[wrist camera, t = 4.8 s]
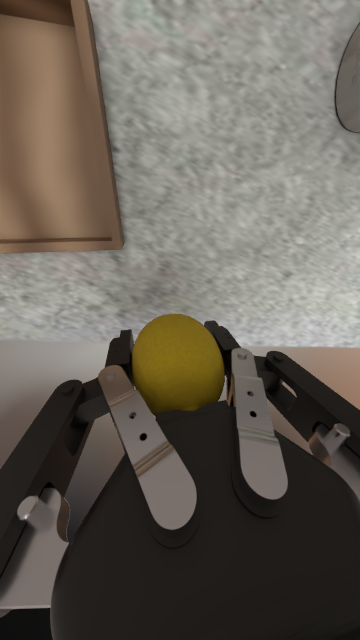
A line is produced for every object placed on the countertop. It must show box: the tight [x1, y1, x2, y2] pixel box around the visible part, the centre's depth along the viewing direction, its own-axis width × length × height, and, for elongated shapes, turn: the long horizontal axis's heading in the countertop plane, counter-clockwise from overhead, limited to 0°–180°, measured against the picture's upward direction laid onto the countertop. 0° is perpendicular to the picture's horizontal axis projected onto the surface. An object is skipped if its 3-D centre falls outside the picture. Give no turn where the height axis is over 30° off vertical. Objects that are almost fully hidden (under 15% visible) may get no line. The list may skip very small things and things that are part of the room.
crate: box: [0, 0, 124, 253], centre depth 15 cm, size 16×16×4 cm
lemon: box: [131, 314, 225, 416], centre depth 12 cm, size 6×6×8 cm
